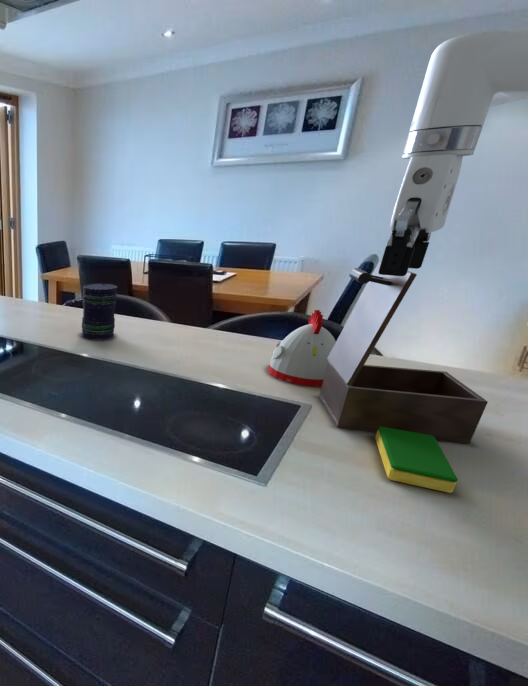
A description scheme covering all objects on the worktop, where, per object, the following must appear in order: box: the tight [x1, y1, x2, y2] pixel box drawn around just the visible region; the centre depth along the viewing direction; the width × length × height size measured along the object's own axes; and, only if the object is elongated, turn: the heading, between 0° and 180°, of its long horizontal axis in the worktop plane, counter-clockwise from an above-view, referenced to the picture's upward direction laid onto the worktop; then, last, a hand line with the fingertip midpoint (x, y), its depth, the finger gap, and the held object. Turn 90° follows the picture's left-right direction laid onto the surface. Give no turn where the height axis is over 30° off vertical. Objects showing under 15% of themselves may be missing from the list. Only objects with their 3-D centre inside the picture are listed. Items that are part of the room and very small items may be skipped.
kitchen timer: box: [267, 309, 337, 388], centre depth 99 cm, size 14×14×15 cm
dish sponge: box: [374, 427, 459, 494], centre depth 67 cm, size 7×14×2 cm, turn 150°
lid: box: [327, 260, 418, 386], centre depth 77 cm, size 19×14×6 cm
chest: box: [318, 362, 489, 445], centre depth 80 cm, size 19×14×8 cm
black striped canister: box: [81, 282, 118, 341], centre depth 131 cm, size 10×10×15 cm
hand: (399, 271), depth 67 cm, fingers open, 9 cm apart
